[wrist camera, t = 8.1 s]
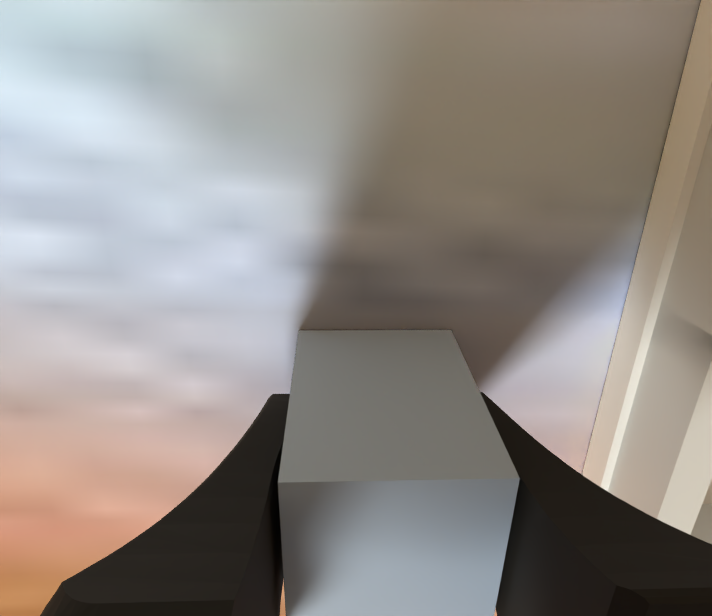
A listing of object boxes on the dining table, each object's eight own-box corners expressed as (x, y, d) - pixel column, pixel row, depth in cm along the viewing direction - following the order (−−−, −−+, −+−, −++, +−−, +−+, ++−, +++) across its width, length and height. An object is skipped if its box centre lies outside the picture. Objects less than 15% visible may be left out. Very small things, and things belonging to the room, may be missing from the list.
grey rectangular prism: (438, 450, 15) (490, 635, 10) (302, 452, 15) (287, 640, 10) (451, 329, 14) (519, 478, 9) (298, 330, 13) (277, 482, 8)
